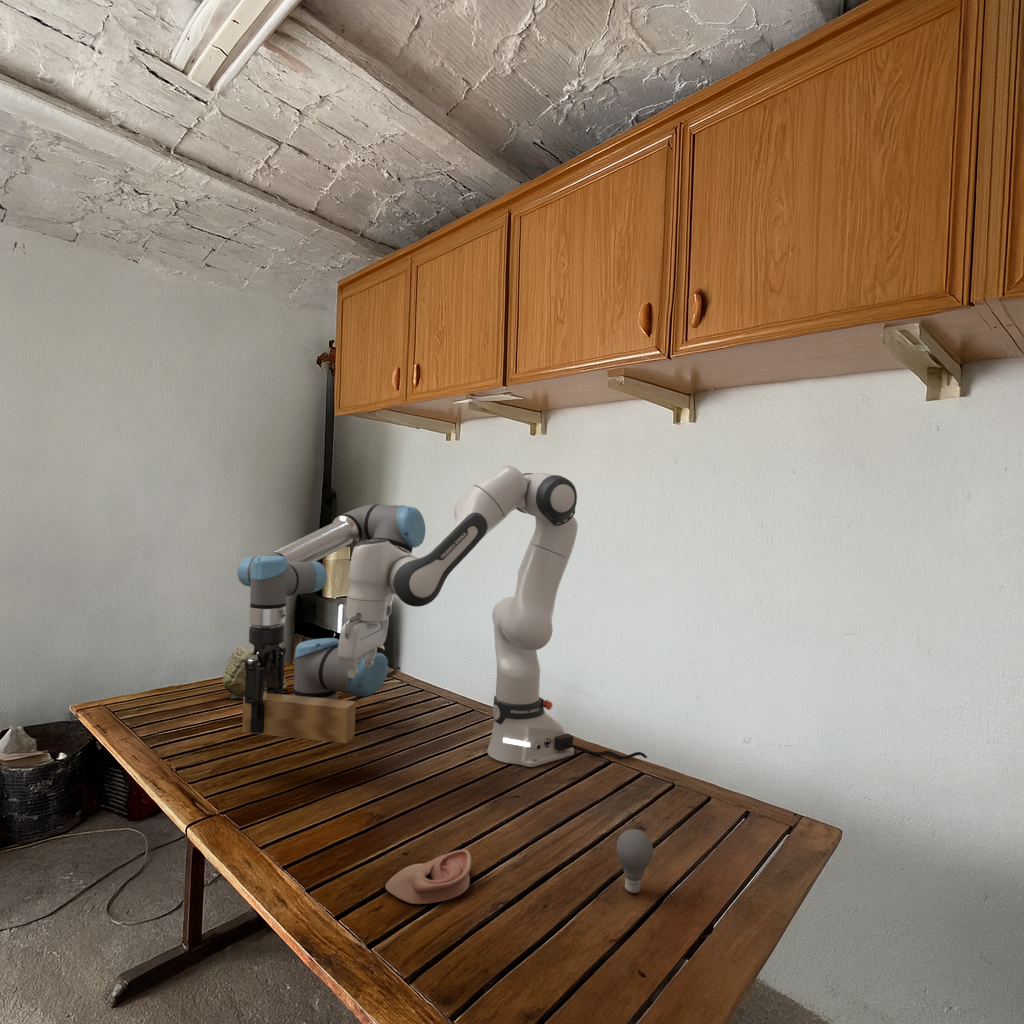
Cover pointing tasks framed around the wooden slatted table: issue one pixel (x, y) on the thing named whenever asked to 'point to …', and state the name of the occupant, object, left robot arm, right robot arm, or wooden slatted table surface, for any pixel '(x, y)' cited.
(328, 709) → the bar
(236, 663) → the fossil
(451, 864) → the anatomical model
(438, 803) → the wooden slatted table surface
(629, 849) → the light bulb
